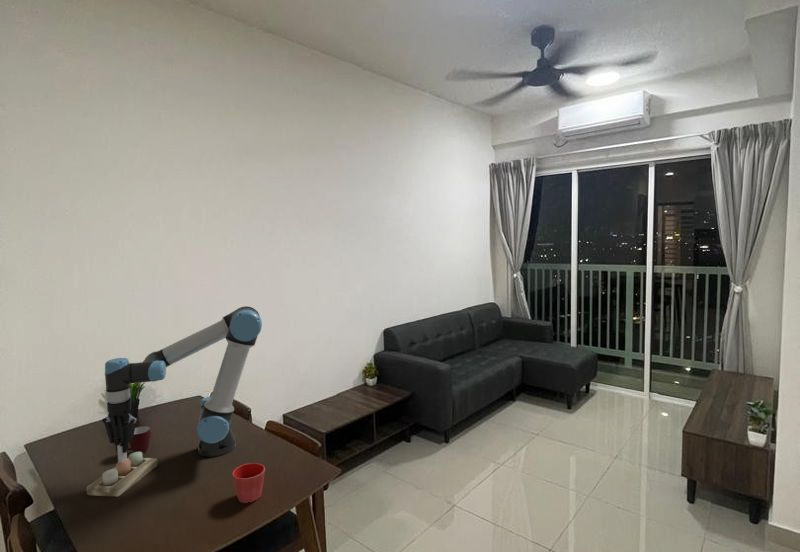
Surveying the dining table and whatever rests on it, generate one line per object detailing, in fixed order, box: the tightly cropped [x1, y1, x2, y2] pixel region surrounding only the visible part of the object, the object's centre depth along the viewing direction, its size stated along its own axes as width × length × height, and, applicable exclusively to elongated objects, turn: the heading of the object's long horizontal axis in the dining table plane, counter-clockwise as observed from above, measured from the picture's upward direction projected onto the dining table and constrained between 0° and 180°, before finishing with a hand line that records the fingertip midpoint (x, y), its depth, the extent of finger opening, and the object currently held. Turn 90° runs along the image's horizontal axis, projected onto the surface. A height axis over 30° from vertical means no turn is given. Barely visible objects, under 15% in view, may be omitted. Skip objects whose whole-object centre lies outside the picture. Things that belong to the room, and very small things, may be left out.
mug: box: [128, 425, 152, 455], centre depth 181 cm, size 10×8×10 cm
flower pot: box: [231, 462, 266, 504], centre depth 149 cm, size 11×11×10 cm
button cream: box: [101, 468, 118, 486], centre depth 155 cm, size 5×5×4 cm
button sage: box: [128, 452, 144, 467], centre depth 168 cm, size 5×5×4 cm
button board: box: [86, 457, 158, 498], centre depth 161 cm, size 12×21×3 cm, turn 175°
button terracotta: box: [115, 460, 131, 476], centre depth 161 cm, size 5×5×4 cm
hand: (122, 460), depth 161 cm, fingers closed
